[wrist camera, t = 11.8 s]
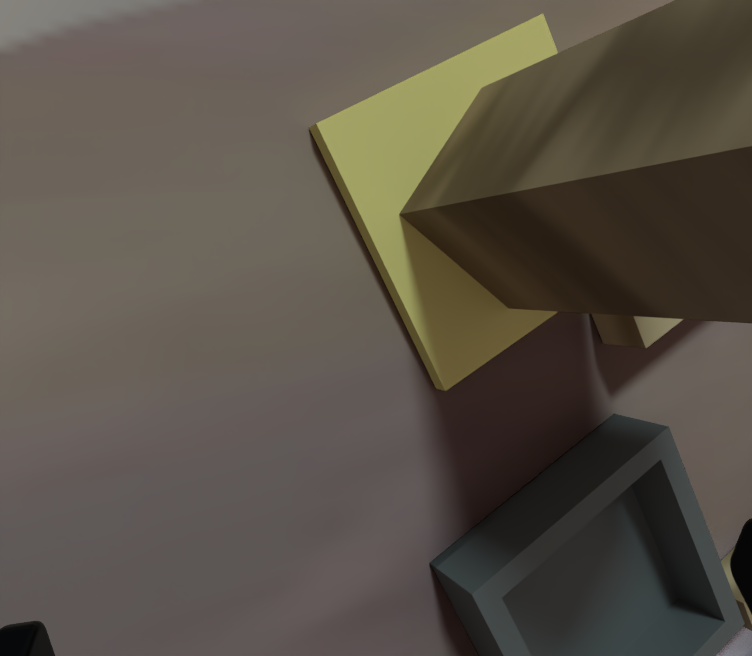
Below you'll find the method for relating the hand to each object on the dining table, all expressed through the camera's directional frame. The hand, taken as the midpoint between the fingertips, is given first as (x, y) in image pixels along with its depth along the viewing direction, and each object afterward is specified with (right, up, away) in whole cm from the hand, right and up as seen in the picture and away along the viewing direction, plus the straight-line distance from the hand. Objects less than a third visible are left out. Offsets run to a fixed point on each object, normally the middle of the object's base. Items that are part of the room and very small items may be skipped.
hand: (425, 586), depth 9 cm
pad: (+3, +7, +14) cm, 16 cm away
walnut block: (+3, +7, +13) cm, 16 cm away
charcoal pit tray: (+7, -6, +17) cm, 19 cm away
